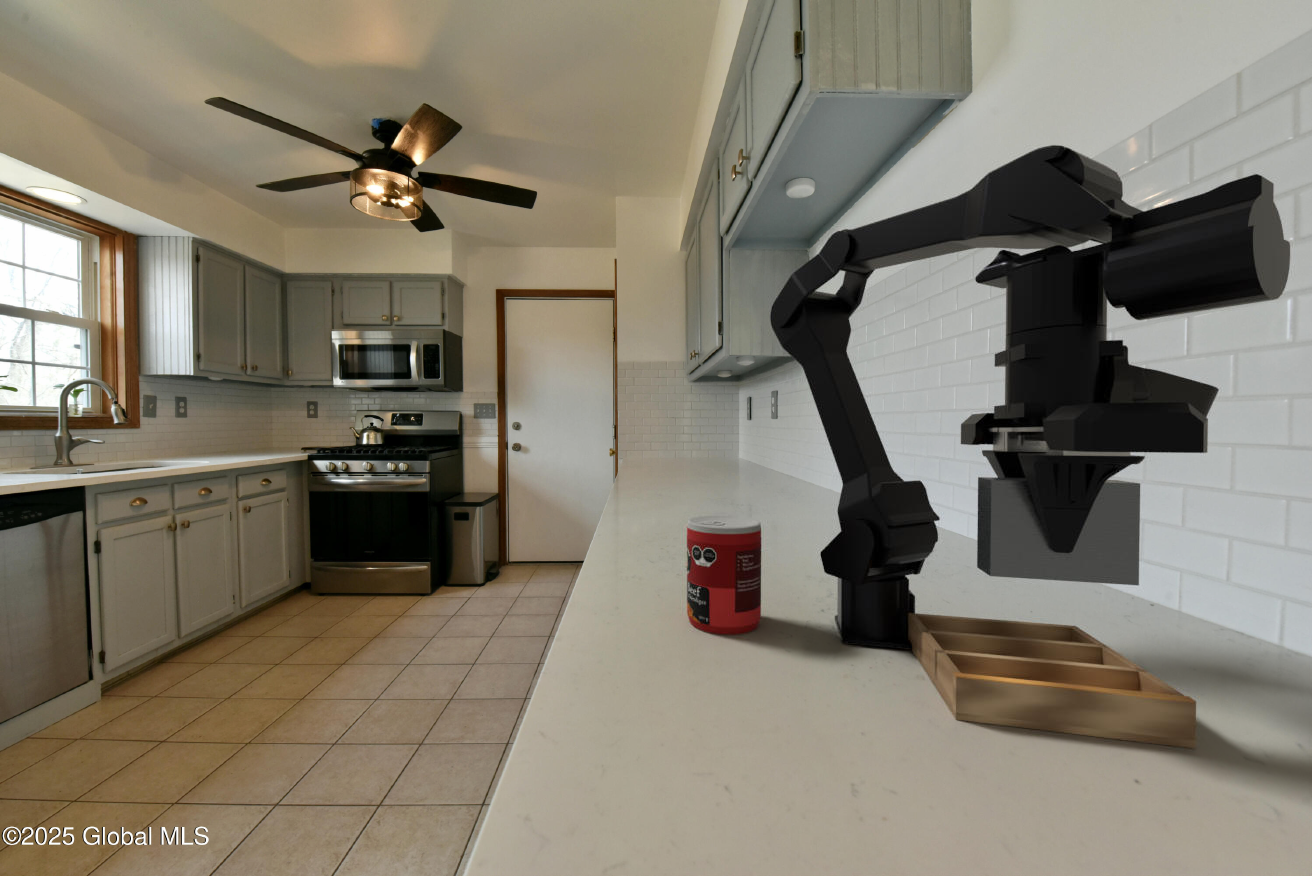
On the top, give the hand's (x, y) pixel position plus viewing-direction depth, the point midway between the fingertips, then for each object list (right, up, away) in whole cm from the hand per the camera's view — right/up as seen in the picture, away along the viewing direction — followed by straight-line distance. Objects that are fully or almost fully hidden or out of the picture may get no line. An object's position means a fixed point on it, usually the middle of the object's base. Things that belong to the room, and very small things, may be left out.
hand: (1051, 548), depth 36 cm
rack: (+1, -12, +4) cm, 13 cm away
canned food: (-21, -12, +18) cm, 30 cm away
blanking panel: (0, -2, 0) cm, 2 cm away
